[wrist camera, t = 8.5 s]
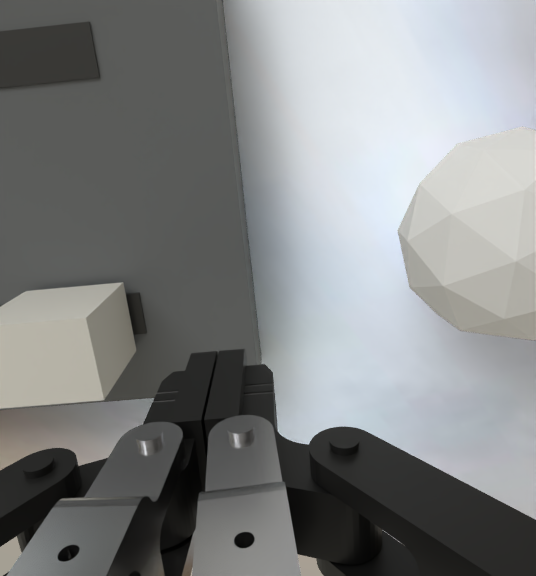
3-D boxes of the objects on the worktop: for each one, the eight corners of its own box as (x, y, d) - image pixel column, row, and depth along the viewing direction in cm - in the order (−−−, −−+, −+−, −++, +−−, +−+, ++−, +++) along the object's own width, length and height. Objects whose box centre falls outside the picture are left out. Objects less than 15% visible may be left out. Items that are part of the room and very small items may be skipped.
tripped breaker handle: (123, 282, 19) (85, 317, 15) (136, 350, 20) (104, 400, 16) (25, 290, 19) (-36, 328, 15) (43, 358, 20) (-11, 409, 16)
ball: (439, 253, 25) (422, 385, 20) (391, 120, 20) (353, 249, 15) (619, 228, 21) (651, 387, 16) (609, 53, 16) (650, 201, 11)
